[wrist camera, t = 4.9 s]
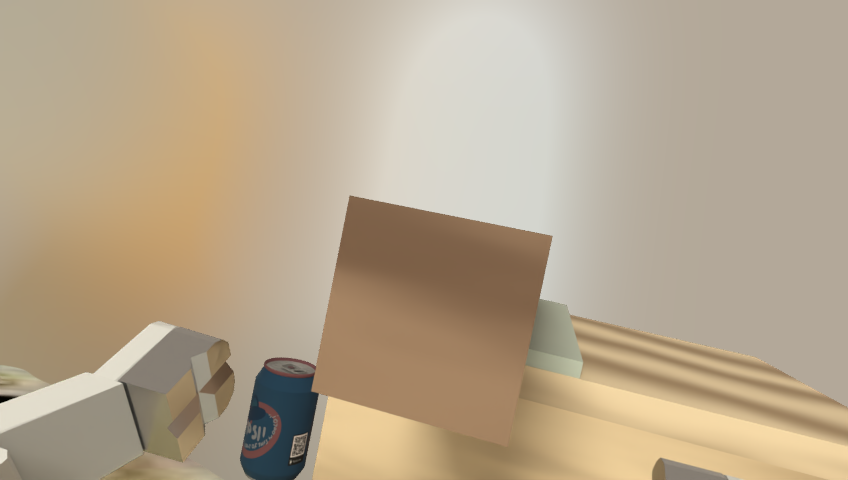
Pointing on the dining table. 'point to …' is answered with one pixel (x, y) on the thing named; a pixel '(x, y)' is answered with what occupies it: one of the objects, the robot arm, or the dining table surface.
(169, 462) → the dining table surface
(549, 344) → the felt pad
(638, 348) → the stand
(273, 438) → the soda can
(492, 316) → the stool leg
